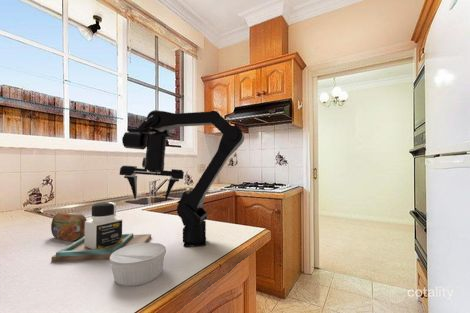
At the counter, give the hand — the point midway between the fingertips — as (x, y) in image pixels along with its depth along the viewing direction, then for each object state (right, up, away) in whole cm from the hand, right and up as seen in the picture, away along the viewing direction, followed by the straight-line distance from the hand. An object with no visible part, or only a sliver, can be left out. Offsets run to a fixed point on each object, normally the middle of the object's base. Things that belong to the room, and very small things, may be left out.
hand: (150, 199), depth 70 cm
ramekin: (+6, -13, -23) cm, 26 cm away
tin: (-28, -14, +3) cm, 32 cm away
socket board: (-10, -13, -6) cm, 18 cm away
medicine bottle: (-11, -12, -7) cm, 18 cm away
